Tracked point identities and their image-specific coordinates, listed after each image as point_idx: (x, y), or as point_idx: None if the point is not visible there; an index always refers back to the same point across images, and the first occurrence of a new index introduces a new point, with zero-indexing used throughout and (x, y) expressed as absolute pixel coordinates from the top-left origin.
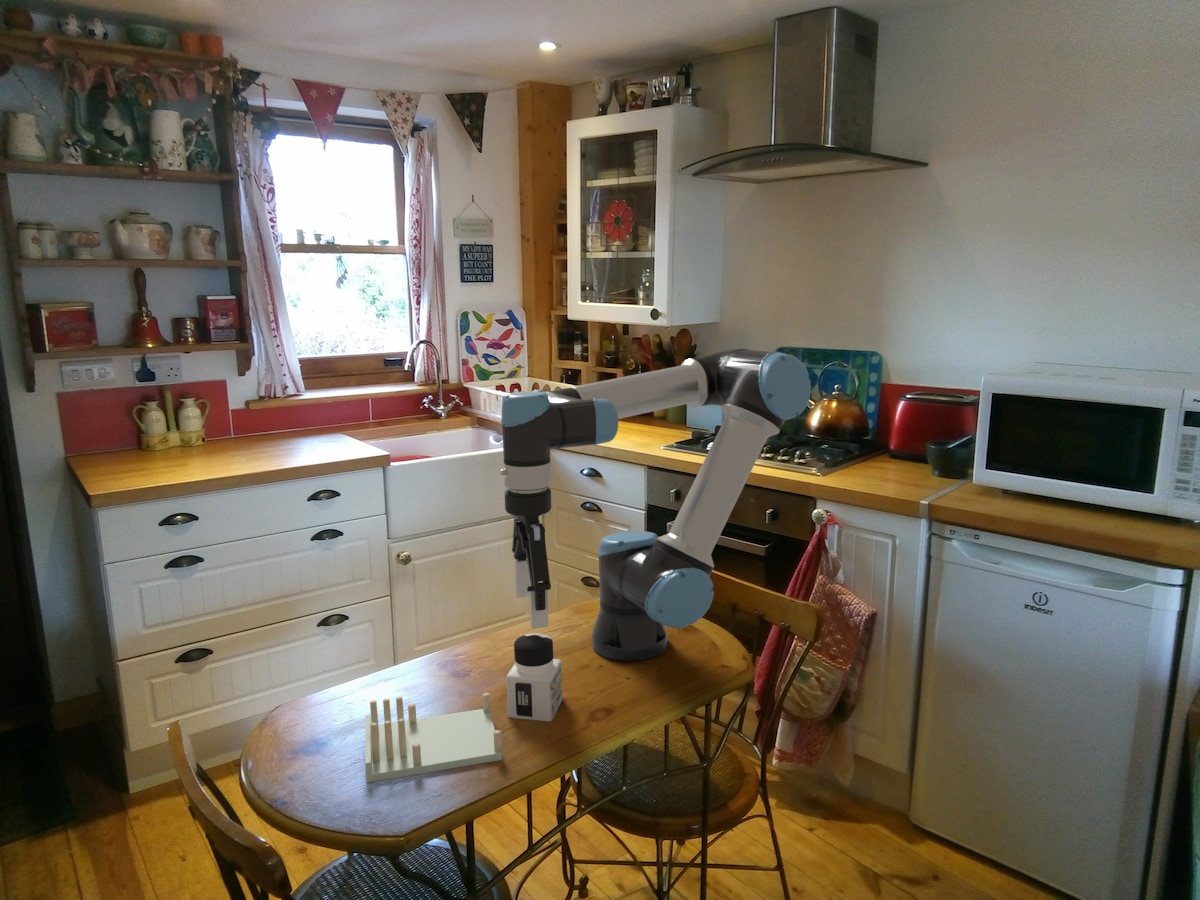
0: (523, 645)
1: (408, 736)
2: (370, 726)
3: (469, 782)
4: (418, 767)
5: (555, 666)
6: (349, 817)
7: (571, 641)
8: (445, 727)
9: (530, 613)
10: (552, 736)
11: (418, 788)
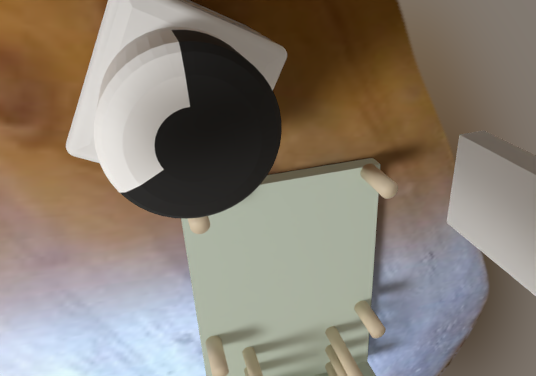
0: (244, 186)
1: (267, 337)
2: None
3: (418, 212)
4: (370, 302)
5: (188, 16)
6: (430, 355)
7: None
8: (249, 280)
9: (504, 268)
10: (317, 34)
11: (402, 287)
